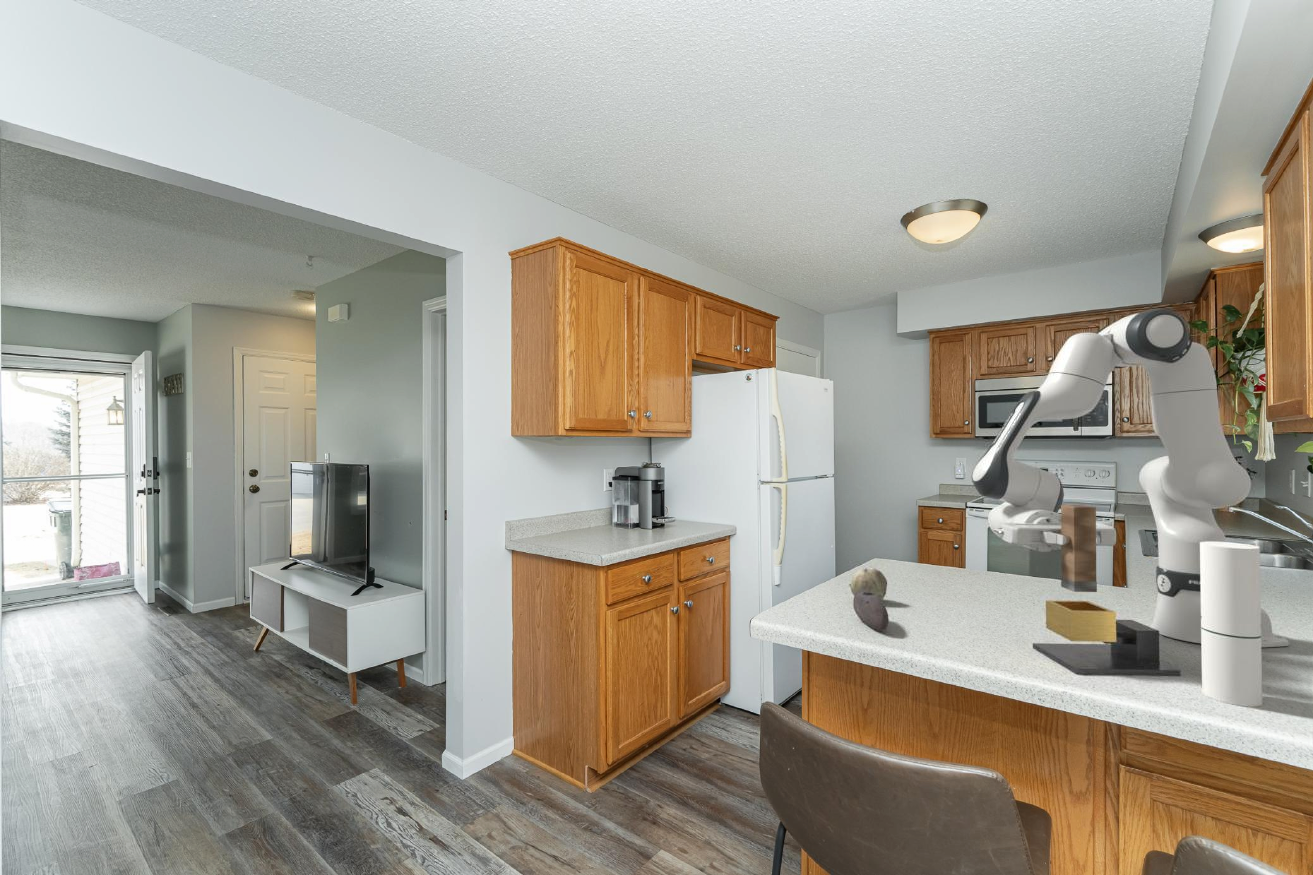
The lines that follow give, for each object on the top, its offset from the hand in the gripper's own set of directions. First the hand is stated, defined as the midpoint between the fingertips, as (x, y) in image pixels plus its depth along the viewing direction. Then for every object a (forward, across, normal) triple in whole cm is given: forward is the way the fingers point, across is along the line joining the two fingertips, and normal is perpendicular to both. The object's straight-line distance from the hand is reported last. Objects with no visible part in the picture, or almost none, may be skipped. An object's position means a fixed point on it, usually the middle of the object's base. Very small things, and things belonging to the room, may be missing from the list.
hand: (1081, 540), depth 115 cm
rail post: (-1, 0, +10) cm, 10 cm away
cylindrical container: (+15, +14, +23) cm, 31 cm away
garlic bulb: (-44, -28, +24) cm, 57 cm away
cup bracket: (-1, +4, +23) cm, 24 cm away
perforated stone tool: (-22, -33, +24) cm, 46 cm away
